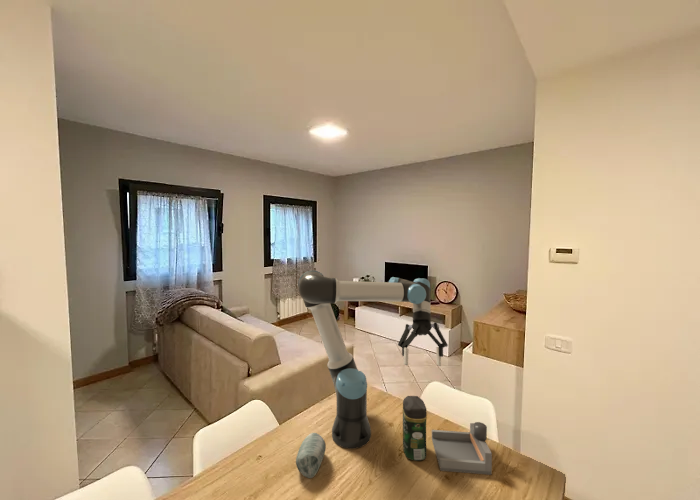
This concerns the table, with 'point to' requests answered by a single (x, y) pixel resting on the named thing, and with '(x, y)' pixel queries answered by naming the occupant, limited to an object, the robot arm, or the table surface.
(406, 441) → the coffee jar
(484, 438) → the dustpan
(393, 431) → the table surface
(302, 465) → the spool
